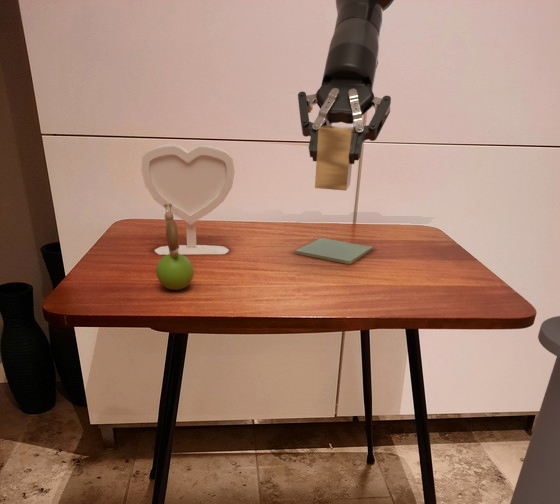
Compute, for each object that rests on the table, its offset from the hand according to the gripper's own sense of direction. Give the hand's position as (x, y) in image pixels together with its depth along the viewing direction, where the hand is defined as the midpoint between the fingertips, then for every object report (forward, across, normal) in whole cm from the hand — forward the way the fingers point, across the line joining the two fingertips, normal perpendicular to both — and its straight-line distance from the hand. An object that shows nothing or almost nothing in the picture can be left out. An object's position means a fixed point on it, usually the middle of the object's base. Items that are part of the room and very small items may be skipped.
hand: (333, 158), depth 77 cm
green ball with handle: (+19, -22, +8) cm, 30 cm away
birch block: (+2, 0, +4) cm, 5 cm away
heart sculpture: (+6, -26, +21) cm, 34 cm away
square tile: (0, -1, +27) cm, 27 cm away
